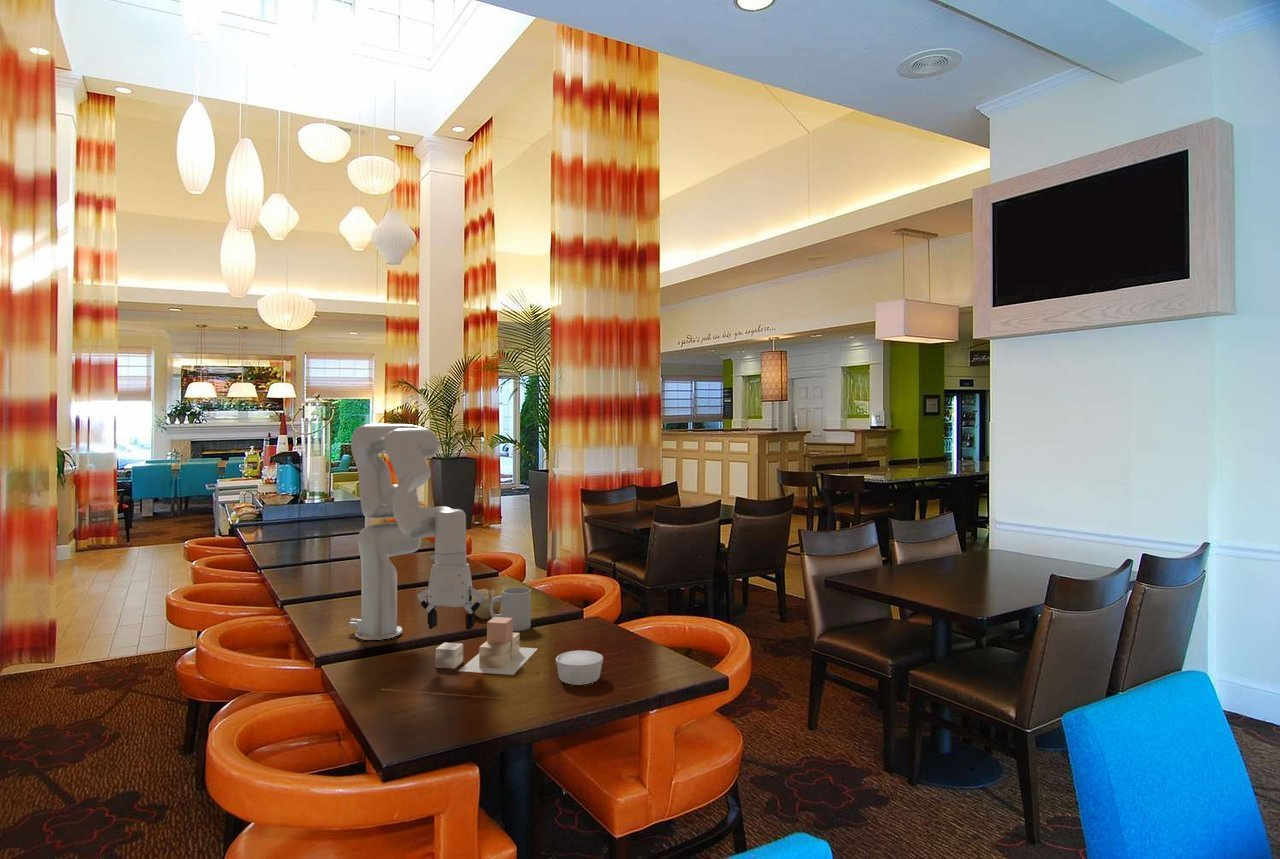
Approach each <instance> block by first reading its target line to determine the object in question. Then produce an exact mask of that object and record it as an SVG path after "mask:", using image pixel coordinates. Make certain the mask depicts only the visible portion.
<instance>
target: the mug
mask: <svg viewBox="0 0 1280 859" xmlns="http://www.w3.org/2000/svg"><path fill="white" fill-rule="evenodd" d="M531 595H532V591H531V589H530V588H528V587H523V586H522V587H521V586H518V587H517V586H515V587H507V588H504V589H503V590H502V592H501V595H499V596H497V597H494V598H493V599H492V600H491V603H490V614H491V617H492V618H494V617H504V618H513V632H523V631H527V630H528V629H530V628H531V627H532V626H531V625H532V623H531V622H532V621H531V620H532V619H531V617H532V616H531V611H532V610H531V608H532V604H531V602H532V596H531ZM495 602H501V613H497V614H495V613H494V612H493V605H494V603H495ZM492 618H491V619H492Z"/></svg>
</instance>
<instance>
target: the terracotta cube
mask: <svg viewBox="0 0 1280 859" xmlns="http://www.w3.org/2000/svg"><path fill="white" fill-rule="evenodd" d="M513 632H514V631H513V618H504V617H494V618H491V619H488V620H487V621H486V641H487V642H495V643H507V642H508V641H509V640H510V639H511V638H512V637H513Z"/></svg>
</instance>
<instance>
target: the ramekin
mask: <svg viewBox="0 0 1280 859" xmlns="http://www.w3.org/2000/svg"><path fill="white" fill-rule="evenodd" d="M603 663H604V655H602V654H601V653H598V652H596V651H592V650H584V649H583V650H580V649H579V650H570V651H565V652H562V653H560V654H558V655H557V656H556V658H555V664H556V668H557V674H558V678H559V680H560V681H561V682H562V683H563V682H564V683H568V684H573V685H583V684H589V683H592V684H594V683H593V682H595V681H596V682H598V680H599V679H600V676H601V672H602V665H603ZM596 682H595V683H596ZM564 683H563V684H564ZM573 685H572V686H573ZM589 685H590V684H589Z"/></svg>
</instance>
